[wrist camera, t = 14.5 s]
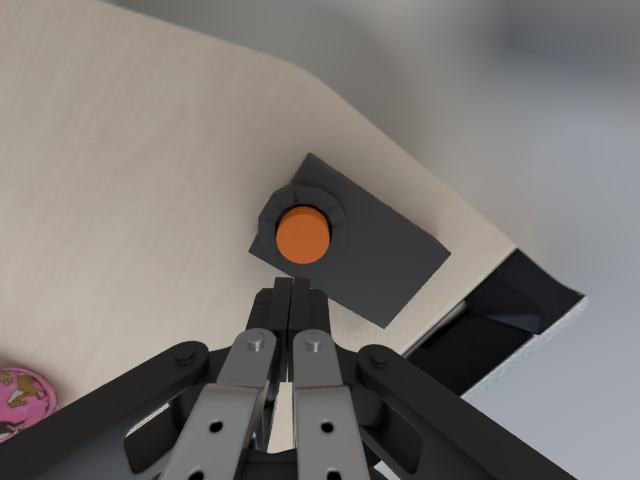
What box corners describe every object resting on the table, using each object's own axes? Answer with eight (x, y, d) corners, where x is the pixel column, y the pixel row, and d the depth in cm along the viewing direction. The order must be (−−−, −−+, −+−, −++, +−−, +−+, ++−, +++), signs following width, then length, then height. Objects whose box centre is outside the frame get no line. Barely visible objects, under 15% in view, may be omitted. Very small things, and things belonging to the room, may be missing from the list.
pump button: (270, 236, 22) (266, 247, 20) (296, 196, 21) (294, 203, 19) (310, 260, 23) (310, 273, 21) (337, 223, 22) (340, 232, 20)
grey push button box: (247, 233, 27) (234, 256, 22) (301, 146, 25) (299, 152, 20) (377, 309, 30) (388, 343, 26) (437, 239, 28) (462, 263, 23)
